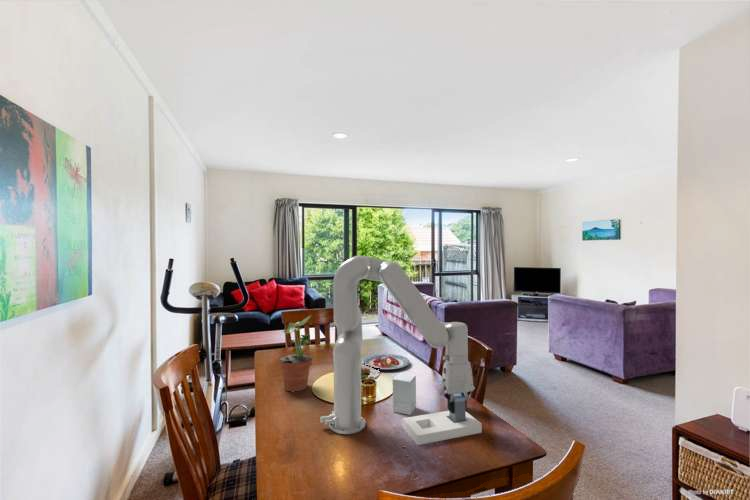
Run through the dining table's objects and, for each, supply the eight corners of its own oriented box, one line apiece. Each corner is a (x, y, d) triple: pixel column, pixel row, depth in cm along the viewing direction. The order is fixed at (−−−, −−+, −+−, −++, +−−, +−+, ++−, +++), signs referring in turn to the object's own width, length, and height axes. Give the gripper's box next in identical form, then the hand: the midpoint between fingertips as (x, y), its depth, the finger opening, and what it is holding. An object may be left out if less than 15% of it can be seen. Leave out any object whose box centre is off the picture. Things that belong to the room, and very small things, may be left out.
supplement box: (416, 407, 135) (416, 375, 135) (410, 415, 129) (410, 381, 129) (399, 404, 138) (399, 372, 139) (392, 411, 132) (392, 378, 132)
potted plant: (315, 380, 163) (315, 307, 164) (309, 393, 148) (310, 312, 148) (281, 381, 163) (282, 307, 163) (273, 394, 148) (273, 312, 148)
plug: (455, 425, 118) (455, 399, 118) (449, 420, 122) (449, 394, 122) (465, 423, 119) (465, 397, 119) (459, 418, 123) (459, 393, 123)
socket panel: (417, 445, 109) (417, 435, 109) (402, 426, 120) (402, 418, 120) (481, 432, 117) (481, 423, 117) (461, 416, 128) (461, 408, 128)
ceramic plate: (359, 358, 198) (359, 353, 198) (402, 356, 203) (402, 351, 203) (366, 374, 173) (366, 368, 173) (415, 371, 177) (415, 365, 177)
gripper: (440, 364, 114) (441, 419, 114) (483, 358, 120) (484, 411, 119) (430, 357, 121) (430, 409, 121) (471, 352, 127) (471, 402, 127)
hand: (457, 410), depth 120 cm, fingers closed on plug, 4 cm apart
